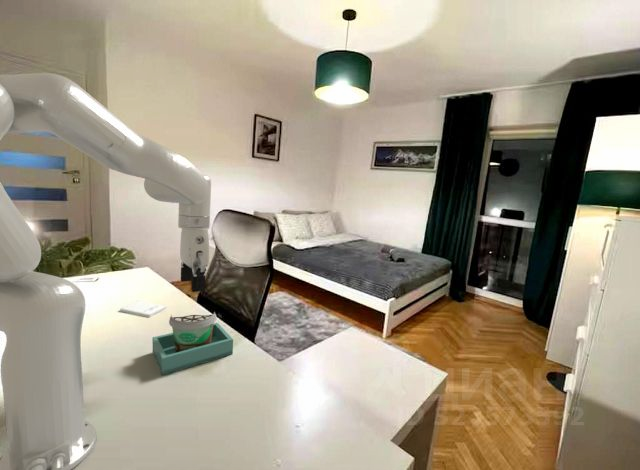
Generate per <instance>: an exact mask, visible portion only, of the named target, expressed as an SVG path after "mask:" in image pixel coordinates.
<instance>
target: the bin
mask: <svg viewBox="0 0 640 470" xmlns="http://www.w3.org/2000/svg"><path fill="white" fill-rule="evenodd" d="M233 351H234V339H233V338H232V336H230V334H228V332H227V331H226V329H224V328H223V327H222V326H221V324H220V323H218V322H214V323H213V330H212V337H211V344H207V345H203V346H199V347H196V348H192V349H188V350H184V351H180V352H176V350H175V345H174V337H173V332H171V333H170V332H169V333H166V334H162V335H157V336H156V335H155V336H153V337H152V354H153V357H154V359H155V361H156V364H157V366H158V368H159V371H160V373H161V375H162V376H164V375H169V374H171V373H175V372H178V371H181V370H186V369H188V368H191V367H195V366H198V365H201V364H204V363H208V362H212V361H214V360H218V359H221V358H225V357H228V356H231V355H234V354H233V353H234V352H233Z"/></svg>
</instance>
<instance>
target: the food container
mask: <svg viewBox="0 0 640 470" xmlns="http://www.w3.org/2000/svg"><path fill="white" fill-rule="evenodd" d="M216 320H217V314H216V312H215V311H214V312H213V314H206V315H204V314H203V315H202V314H191V315H185V316H175V317H173V315H172V314H171V315H170V317H169V320H168V324H169V326H170V327H172V333H173V337H174V345H175V350H176V352H180V351H184V350H188V349H192V348H196V347H199V346H203V345H207V344H211V337H212V330H213V324H214V323H216Z"/></svg>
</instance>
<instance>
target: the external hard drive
mask: <svg viewBox="0 0 640 470" xmlns="http://www.w3.org/2000/svg"><path fill="white" fill-rule="evenodd" d="M166 308H167V309H168V306H166V305H160V304H157V303H156V304H155V303H150V302H146V301H141V300H138V301H135V302H132V303H130V304H128V305H125V306H123V307H121V308H120V310H119V312H121V313H127V314H130V315H137V316H142V317H145V318H146V317H148V318H151V317H154V316H156V315H157V314H159V313H161V312H164V311H165V310H167V309H166Z"/></svg>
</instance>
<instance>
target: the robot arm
mask: <svg viewBox="0 0 640 470" xmlns="http://www.w3.org/2000/svg"><path fill="white" fill-rule="evenodd" d="M28 132H35V133H37V132H39V133H40V132H41V133H50V134H51V135H53V136H56V137H57V138H58V139H60V140H62V141H63V142H65V143H67V144H69V145H70V146H72V147H74V148H75V149H77V150H78V151H79V152H82V154H85V155H87V156H88V157H90V158H91V159H93V160H95V161H96V162H98V163H99V164H101V165H102V166H103V167H106V168H108V169H110V170H113V171H115V172H119V173H122V174H125V175H128V176H132V177H137V178H141V179H144V181H143V187H144V191H145V193H146V194H147V195H148V196H149V197H150V198H152V199H153V200H156V201H158V202H162V203H163V202H164V203H170V204H172V203H173V204H178V219H177V220H178V222H177V224H178V227H177V228H179V229H181V232H180V244H179V245H180V249H179V252H180V253H179V254H180V256H179V257H180V258H179V259H180V260H181V263H180V266H181V267H180V281H181V282H191V284H190V285H191V287H190V288H191V289H190V291H191V293H196V292H197V293H198V292H204V291H205V290H206V274H207V272H206V271H207V269H206V267H209V265H210V239H209V237H210V236H209V229H210V225H211V223H210V221H211V201H212V200H211V197H212V196H211V194H212V180H211V177H209V176H208V175H205V174H203V173H202V172H201V171H200V170H199V168H197V166H195V165H194V164H193V163H192V162H191V161H189V160H188V158H185V157H184V156H183V155H180V154H179V153H178V152H176V151H174V150H171V149H170V148H168V147H166V146H163V145H162V144H160V143H158V142H156V141H154V140H151V139H150V138H148V137H145V136H143V135H142V134H140V133H138V132H136V131H135V130H134V129H132V128H131V127H130V126H129V125H128V124H126V123H125V122H124V121H122V120H121V119H120V118H119V117H117V116H116V115H115V114H114V113H113V112H111V111H110V110H109V109H108V108H106V107H105V105H103V104H102V103H101V102H99V101H98V100H97V99H96V98H95V97H93V96H92V95H91V94H90V93H89V92H87V91H86V90H85V89H83V88H82V87H81V86H80V85H79V84H77V83H76V82H74V81H73V80H71V79H69V78H68V77H65V76H63V75H60V74H57V73H50V72H49V73H48V72H41V73H40V72H37V73H36V72H35V73H18V74H17V73H16V74H0V141H1V140H2V139H3V137H4V136H5V135H6V134H16V133H19V134H20V133H28ZM41 259H42V247H41V245H40V241H39V240H38V238H37V237H36V235H35V233H34V231H33V230H32V229H31V227H30V225H28V222H27V221H26V220H25V218H24V217H23V215H22V214H21V213H20V211H19V209H18V208H17V206H16V204H15V203H14V202H13V200H12V199H11V197H10V196H9V195H8V193H7V191H6V190H5V187H4V186H3V184H2V183H1V181H0V332H2V333H4V334H5V337H6V338H5V339H6V342H5V347H4V350H3V353H2V356H1V359H0V360H1V361H0V381H1V385H2V395H3V404H4V414H5V415H4V416H5V425H6V426H5V428H6V435H7V444H8V446H7V447H8V450H7V451H6V452H5V453H4V454H3V456H2V457H1V458H0V470H73V469H74V468H75V467H77V466H78V465H79V464H80V463H81V462H83V460H84V459H86V457H87V456H88V455H89V453H91V451H92V450H93V449H94V446H95V444H96V440H97V430H96V427H95V426H94V425H93V424H92V423H90V422H88V421H85V420H86V419H85V406H84V404H85V403H84V402H85V401H84V383H83V368H82V367H83V366H82V365H83V364H82V354H81V353H82V352H81V351H82V350H81V349H82V347H81V339H82V329H83V324H84V323H83V322H84V318H85V313H86V299H85V296H84V294H83V292H82V290H81V289H80V288H79V287H78V286H77V285H76V284H74V283H73V282H71V281H69V280H67V279H65V278H63V277H60V276H56V275H52V274H48V273H43V272H38V271H35V269H36V268H37V267H38V265H39V263H40V262H41Z"/></svg>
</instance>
